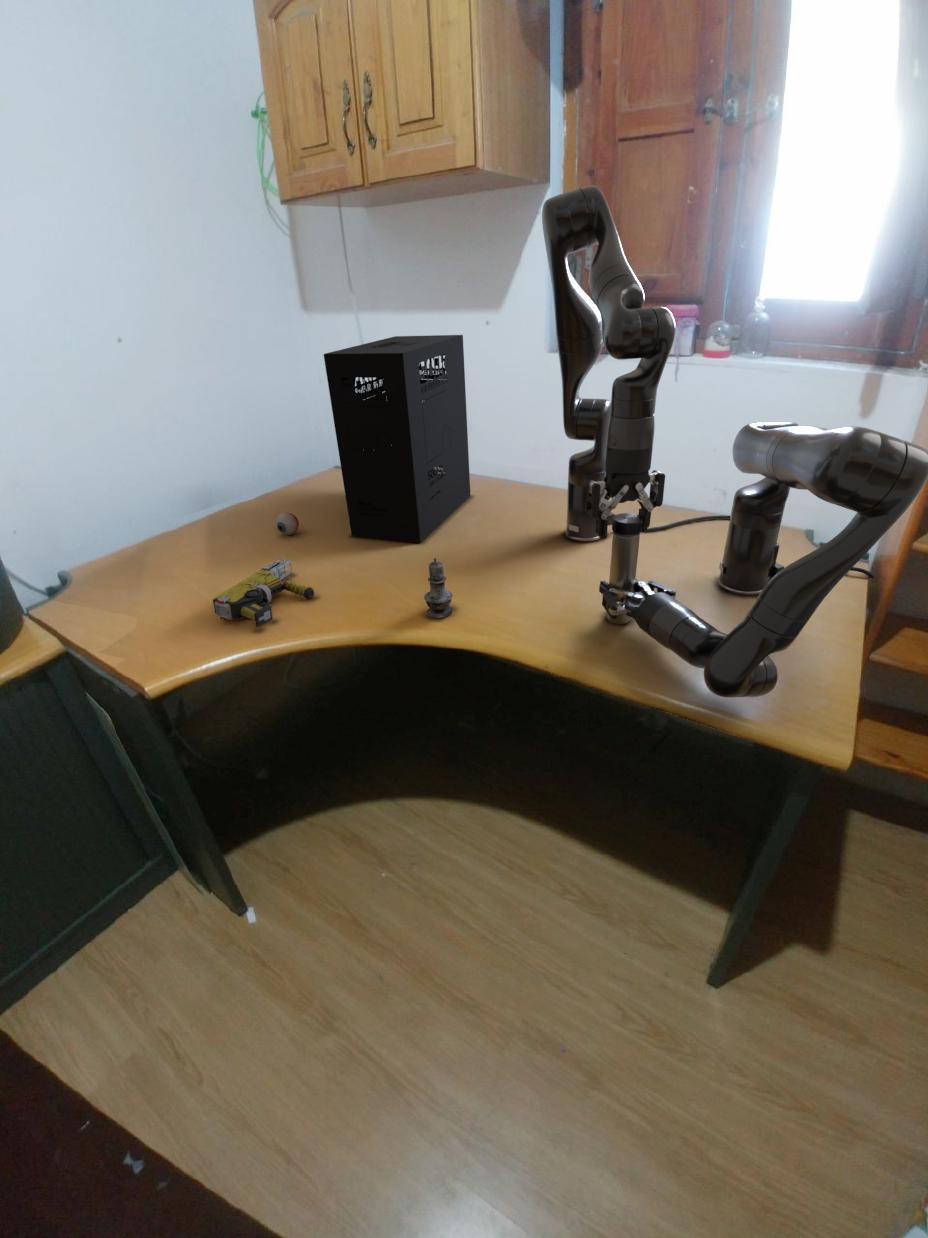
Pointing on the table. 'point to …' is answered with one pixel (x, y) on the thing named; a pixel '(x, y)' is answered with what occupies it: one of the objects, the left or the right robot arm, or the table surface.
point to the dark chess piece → (438, 592)
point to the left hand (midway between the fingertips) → (622, 533)
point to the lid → (627, 524)
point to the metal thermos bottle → (623, 567)
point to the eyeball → (287, 523)
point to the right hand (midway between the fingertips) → (613, 582)
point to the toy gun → (258, 594)
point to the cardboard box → (401, 434)
